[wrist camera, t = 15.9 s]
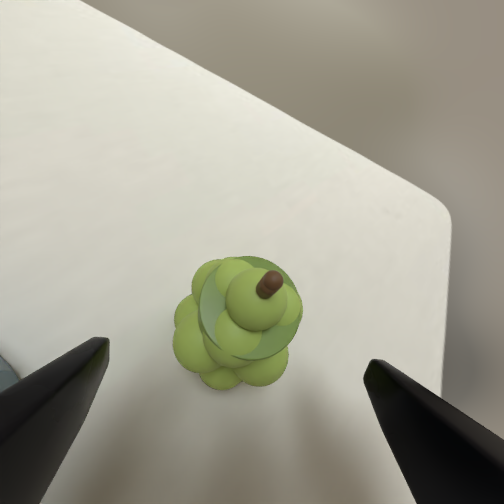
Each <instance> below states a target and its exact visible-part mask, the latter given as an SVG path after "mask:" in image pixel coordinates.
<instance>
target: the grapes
mask: <svg viewBox="0 0 504 504" xmlns="http://www.w3.org/2000/svg"><path fill="white" fill-rule="evenodd" d="M302 314H303V306H302V301H301V298H300V296H299V294H298V292H297V290H296V288H295V285H294V284H293V282H292V280H291V279H290V278H289V276H288V275H287V274H286V273H285V272H284V271H283V270H282V269H281V268H280V267H278V266H277V265H275V264H274V263H272V262H270V261H268V260H265V259H263V258H259V257H253V256H242V257H228V258H224V259H222V260H221V259H218V260H212V261H209V262H207V263H205V264H204V265H202V266H201V267H200V268H199V269H198V270H197V272H196V273H195V275H194V277H193V280H192V294H191V295H189V296H187V297H186V298H185V299H183V300H182V301H181V302H180V304H179V305H178V307H177V309H176V311H175V316H174V323H175V327H176V330H175V332H174V336H173V350H174V354H175V356H176V358H177V360H178V362H179V363H180V364H181V365H182V366H183V367H184V368H186V369H187V370H189V371H192V372H195V373H199V375H200V377H201V379H202V380H203V381H204V383H205V384H207V385H208V386H209V387H211V388H213V389H217V390H227V389H230V388H233V387H235V386H236V385H237V384H239V383H240V382H241V381H244V382H245V383H247V384H249V385H252V386H267V385H270V384H272V383H274V382H275V381H276V380H278V379H279V378H280V377H281V375H282V374H283V373H284V371H285V369H286V366H287V363H288V347H287V345H288V344H289V343H290V342H291V340H292V339H293V337H294V336H295V334H296V331H297V329H298V326H299V323H300V321H301V318H302Z"/></svg>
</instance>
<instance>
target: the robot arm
mask: <svg viewBox="0 0 504 504" xmlns="http://www.w3.org/2000/svg"><path fill="white" fill-rule="evenodd" d="M109 346H110V342H109V339H108V338H105V337H93V338H91V339H89V340H88V341H86V342H84V343H82V344H81V345H79V346H77V347H76V348H74V349H72V350H71V351H69V352H67V353H66V354H64V355H62V356H61V357H59V358H57V359H55V360H54V361H52V362H50V363H49V364H47V365H45V366H44V367H42V368H40V369H39V370H37V371H35V372H33V373H32V374H30V375H28V376H27V377H25V378H23V379H22V380H20V381H18V382H17V383H15V384H13V385H12V386H10V387H8V388H6V389H5V390H3V391H1V392H0V504H40V502H41V500H42V498H43V496H44V494H45V493H46V491H47V489H48V487H49V485H50V483H51V482H52V480H53V478H54V476H55V474H56V472H57V471H58V469H59V467H60V465H61V463H62V461H63V460H64V458H65V456H66V454H67V452H68V450H69V449H70V447H71V445H72V443H73V441H74V439H75V438H76V436H77V434H78V432H79V430H80V428H81V426H82V424H83V422H84V421H85V418H86V416H87V414H88V412H89V409H90V407H91V405H92V402H93V400H94V398H95V395H96V393H97V390H98V388H99V386H100V383H101V381H102V379H103V376H104V374H105V372H106V369H107V367H108V364H109ZM363 380H364V384H365V387H366V390H367V392H368V395H369V398H370V400H371V403H372V405H373V408H374V411H375V413H376V416H377V419H378V421H379V424H380V426H381V429H382V431H383V433H384V435H385V438H386V440H387V442H388V444H389V446H390V448H391V450H392V452H393V454H394V457H395V459H396V461H397V463H398V465H399V467H400V469H401V471H402V474H403V476H404V478H405V480H406V482H407V484H408V486H409V488H410V491H411V493H412V495H413V497H414V499H415V501H416V503H417V504H504V440H503V439H502V438H500V437H499V436H497V435H496V434H494V433H493V432H491V431H490V430H488V429H486V428H485V427H484V426H482V425H481V424H479V423H478V422H476V421H475V420H473V419H472V418H470V417H468V416H467V415H466V414H464V413H463V412H461V411H460V410H458V409H457V408H455V407H454V406H452V405H451V404H449V403H448V402H446V401H444V400H443V399H442V398H440V397H439V396H437V395H436V394H434V393H432V392H431V391H429V390H428V389H426V388H425V387H423V386H422V385H420V384H419V383H417V382H416V381H414V380H413V379H411V378H410V377H408V376H407V375H405V374H404V373H402V372H401V371H399V370H398V369H396V368H395V367H393V366H392V365H390V364H389V363H387V362H386V361H384V360H380V359H372V360H371V361H370V362H369V365H368V367H367V369H366V371H365V374H364V377H363Z"/></svg>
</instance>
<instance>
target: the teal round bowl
mask: <svg viewBox="0 0 504 504" xmlns="http://www.w3.org/2000/svg"><path fill="white" fill-rule="evenodd" d="M18 381H20V380H19V379H18V377H17V376H16V374H15V372H14V371H13V369H12V368H11V366H10V365H9V364H8V363H7V362H6V361H5V360H4V359H3V358H2V357H1V356H0V392H1V391H3V390H5V389H6V388H8V387H10V386H12V385H13V384H15V383H17V382H18Z"/></svg>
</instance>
